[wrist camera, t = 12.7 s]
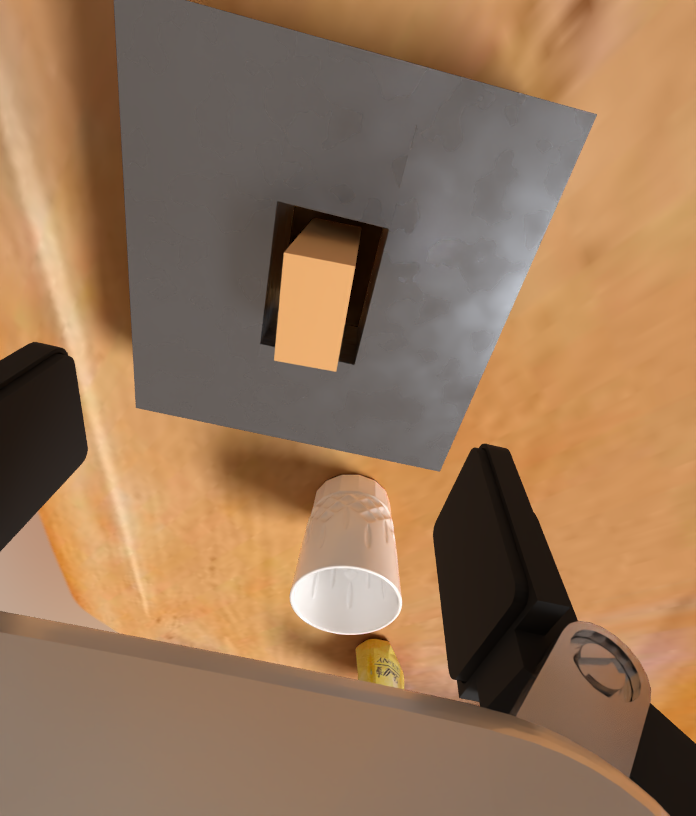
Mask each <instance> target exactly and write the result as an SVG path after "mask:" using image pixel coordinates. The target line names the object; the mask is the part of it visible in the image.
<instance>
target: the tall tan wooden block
mask: <svg viewBox="0 0 696 816" xmlns="http://www.w3.org/2000/svg"><path fill="white" fill-rule="evenodd" d="M361 229H362V227H358V226H353V225H348V224H343V223H338V222H333V221H328V220H323V219H318V218H313V219H312V220H311V221H310V223H309V224H308V225H307V226H306V227H305V228H304V230H303V231H302V232H301V233H300V234H299V235H298V237H297V238H296V239H295V240H294V241H293V242H292V244H291V245H290V246H289V247H288V248H287V249H286V251H285V252H284V257H283V268H282V279H281V289H280V300H279V311H278V322H277V333H276V344H275V355H274V361H279V362H285V363H290V364H296V365H301V366H307V367H312V368H318V369H323V370H329V371H334V372H336V370H337V365H338V359H339V354H340V348H341V343H342V337H343V332H344V326H345V320H346V315H347V309H348V304H349V298H350V293H351V287H352V282H353V276H354V271H355V265H356V259H357V253H358V247H359V241H360V235H361Z"/></svg>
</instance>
